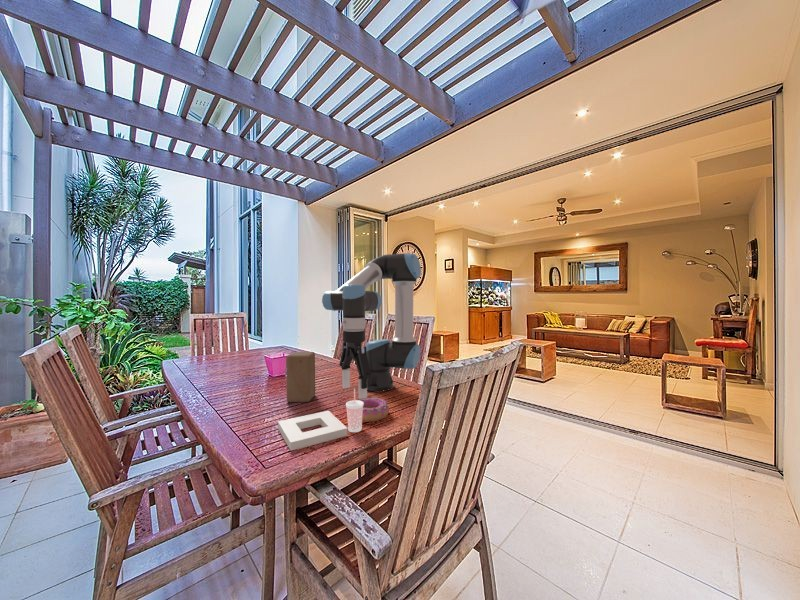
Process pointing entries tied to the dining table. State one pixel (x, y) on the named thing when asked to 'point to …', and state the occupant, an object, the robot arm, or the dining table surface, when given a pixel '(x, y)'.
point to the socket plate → (300, 440)
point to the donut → (374, 409)
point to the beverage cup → (354, 415)
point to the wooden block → (300, 376)
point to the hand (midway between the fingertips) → (354, 392)
